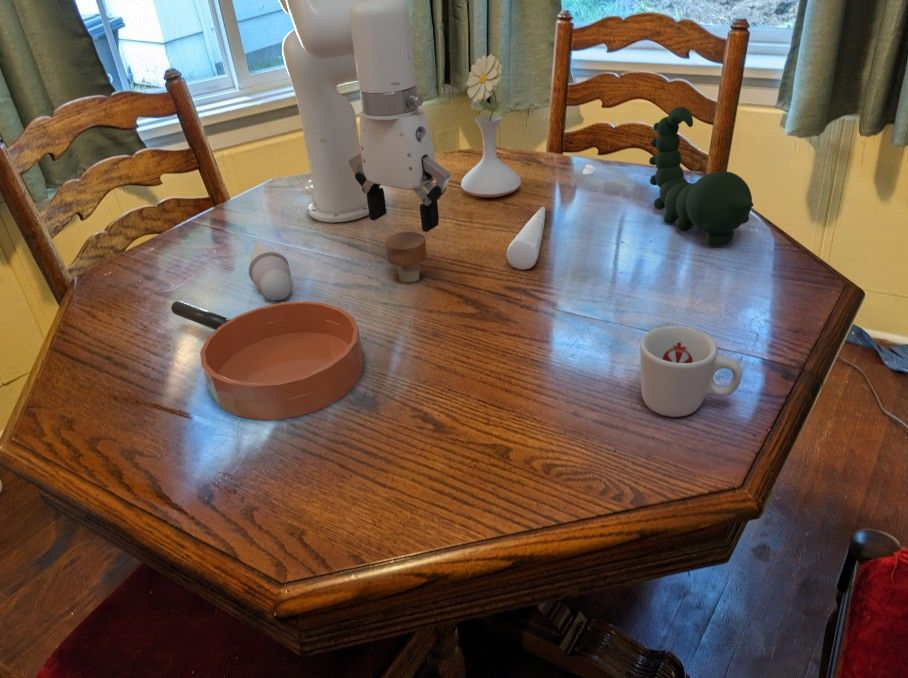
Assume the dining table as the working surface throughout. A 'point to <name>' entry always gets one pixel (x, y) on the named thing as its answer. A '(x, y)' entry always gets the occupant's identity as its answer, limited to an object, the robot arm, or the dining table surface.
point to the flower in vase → (488, 135)
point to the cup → (681, 370)
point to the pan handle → (198, 315)
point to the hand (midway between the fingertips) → (404, 222)
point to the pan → (283, 360)
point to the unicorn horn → (527, 243)
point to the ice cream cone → (270, 272)
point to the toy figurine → (696, 188)
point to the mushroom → (406, 254)
